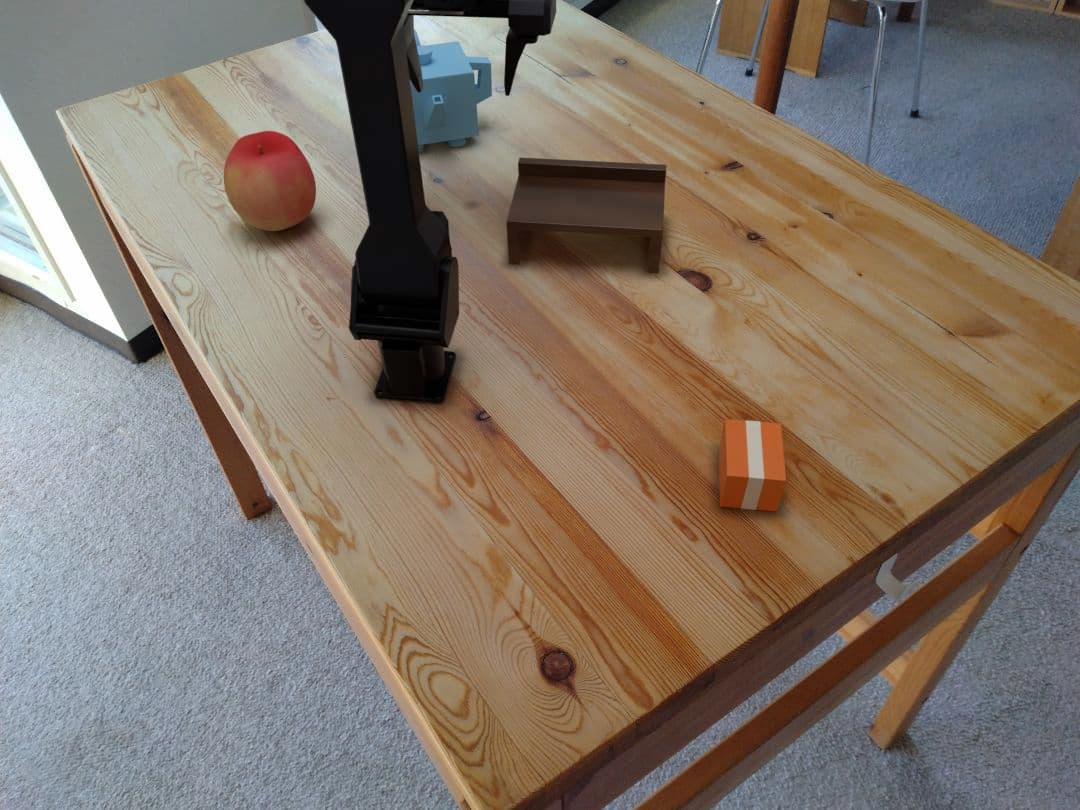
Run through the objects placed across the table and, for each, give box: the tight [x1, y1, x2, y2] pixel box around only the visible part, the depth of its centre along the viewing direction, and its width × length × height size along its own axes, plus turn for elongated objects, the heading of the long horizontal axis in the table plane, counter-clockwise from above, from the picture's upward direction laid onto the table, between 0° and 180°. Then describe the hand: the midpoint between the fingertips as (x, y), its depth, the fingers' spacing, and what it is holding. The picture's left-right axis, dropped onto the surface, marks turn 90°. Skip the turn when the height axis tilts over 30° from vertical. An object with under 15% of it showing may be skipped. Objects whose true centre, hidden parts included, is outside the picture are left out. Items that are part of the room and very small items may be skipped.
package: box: [718, 418, 787, 512], centre depth 69 cm, size 6×4×4 cm
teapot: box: [410, 29, 493, 153], centre depth 107 cm, size 16×18×11 cm
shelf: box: [505, 157, 668, 274], centre depth 91 cm, size 10×16×7 cm, turn 83°
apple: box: [223, 130, 317, 232], centre depth 93 cm, size 10×10×10 cm
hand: (464, 92), depth 87 cm, fingers open, 9 cm apart
